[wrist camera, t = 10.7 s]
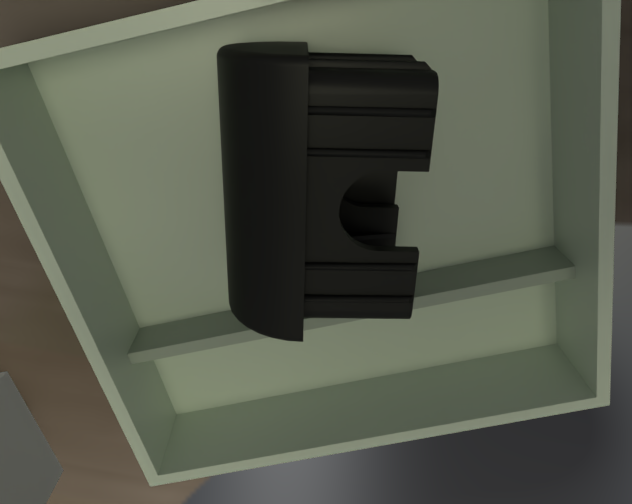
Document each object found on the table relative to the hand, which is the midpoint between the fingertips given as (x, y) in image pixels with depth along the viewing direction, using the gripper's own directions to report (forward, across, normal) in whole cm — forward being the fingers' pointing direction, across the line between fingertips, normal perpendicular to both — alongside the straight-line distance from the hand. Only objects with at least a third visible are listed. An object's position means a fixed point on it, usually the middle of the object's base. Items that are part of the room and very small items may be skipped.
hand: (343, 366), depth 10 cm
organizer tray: (+15, +1, +3) cm, 16 cm away
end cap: (+15, 0, 0) cm, 15 cm away
